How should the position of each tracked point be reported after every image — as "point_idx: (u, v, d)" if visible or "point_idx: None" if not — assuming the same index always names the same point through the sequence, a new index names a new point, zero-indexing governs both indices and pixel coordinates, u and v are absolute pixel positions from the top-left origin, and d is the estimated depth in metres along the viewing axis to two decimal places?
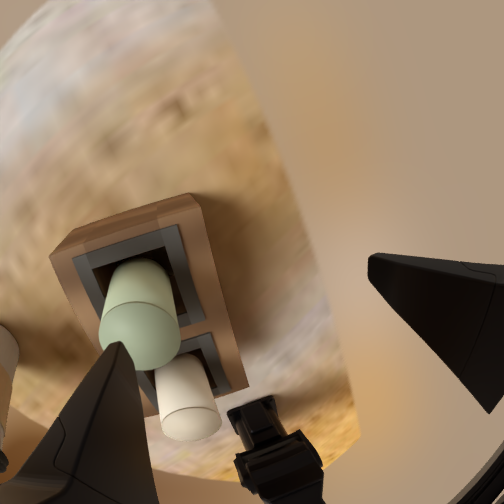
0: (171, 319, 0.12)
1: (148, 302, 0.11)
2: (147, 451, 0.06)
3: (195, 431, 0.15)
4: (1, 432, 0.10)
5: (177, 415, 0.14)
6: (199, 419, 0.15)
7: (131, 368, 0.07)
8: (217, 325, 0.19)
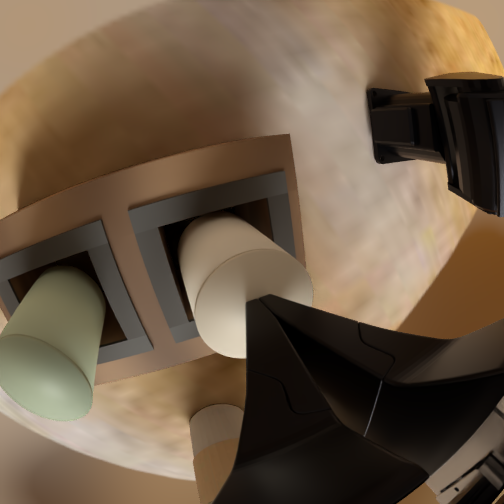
0: None
1: None
2: None
3: None
4: None
5: (211, 336, 0.08)
6: (236, 298, 0.08)
7: None
8: (116, 197, 0.10)
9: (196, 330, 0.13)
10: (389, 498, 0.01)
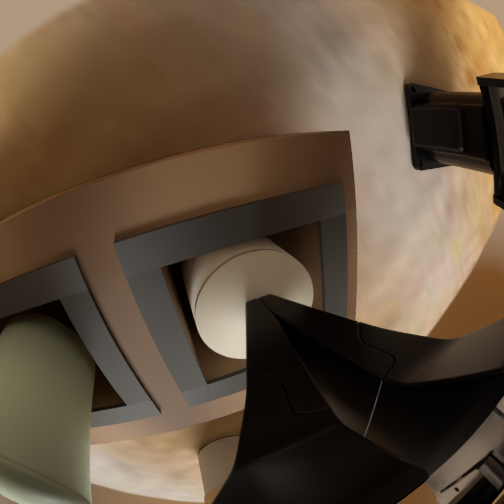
0: None
1: None
2: None
3: None
4: None
5: (211, 336, 0.08)
6: (236, 298, 0.08)
7: None
8: (95, 222, 0.06)
9: (216, 392, 0.09)
10: (389, 498, 0.01)
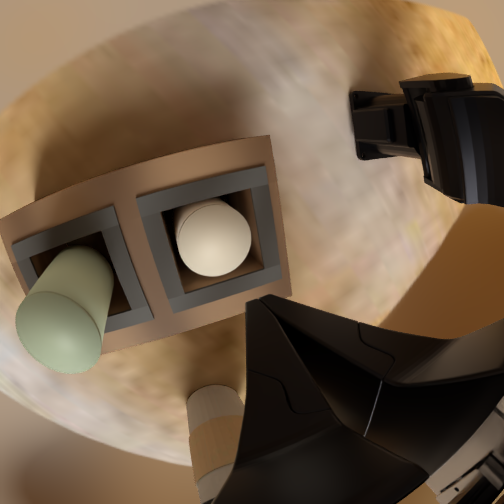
0: (23, 302, 0.07)
1: (17, 320, 0.08)
2: None
3: (227, 238, 0.15)
4: None
5: (187, 257, 0.14)
6: (201, 232, 0.14)
7: None
8: (126, 187, 0.12)
9: (191, 302, 0.15)
10: (389, 498, 0.01)
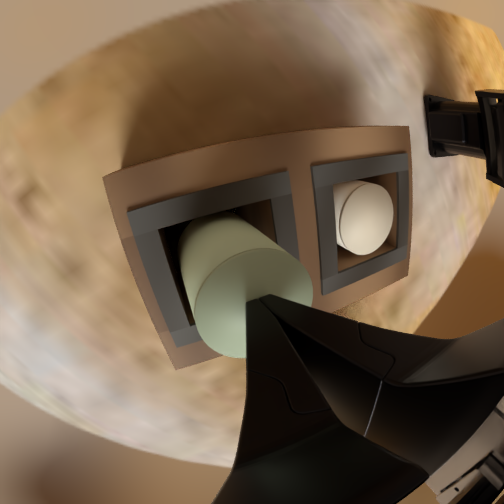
0: (227, 264, 0.08)
1: (197, 292, 0.08)
2: None
3: (378, 217, 0.14)
4: None
5: (346, 234, 0.14)
6: (361, 209, 0.14)
7: None
8: (301, 153, 0.11)
9: (341, 282, 0.15)
10: (388, 498, 0.01)
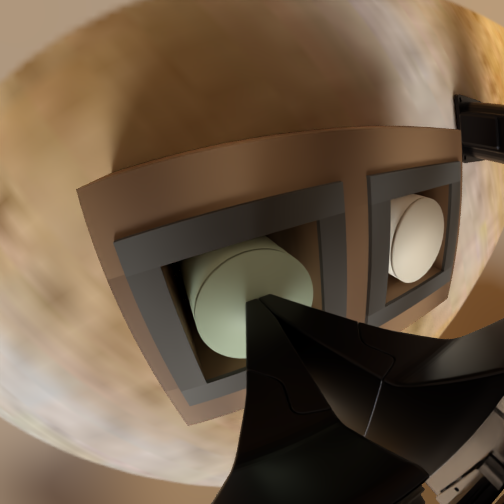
0: (227, 264, 0.08)
1: (197, 293, 0.08)
2: None
3: (430, 237, 0.11)
4: None
5: (398, 260, 0.10)
6: (415, 230, 0.10)
7: None
8: (357, 158, 0.08)
9: (386, 316, 0.11)
10: (389, 498, 0.01)
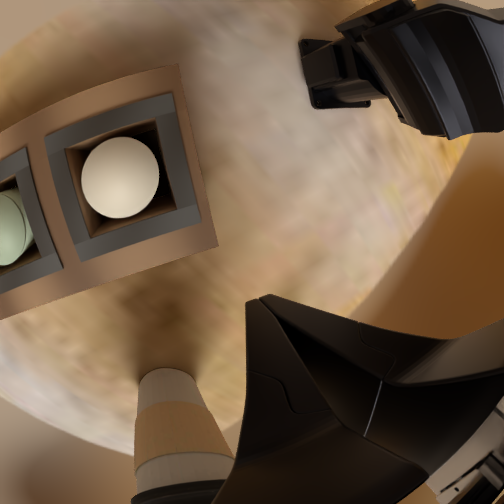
0: None
1: None
2: None
3: (132, 173, 0.12)
4: (200, 458, 0.14)
5: (91, 196, 0.12)
6: (104, 167, 0.11)
7: None
8: (37, 129, 0.09)
9: (97, 249, 0.12)
10: (389, 498, 0.01)
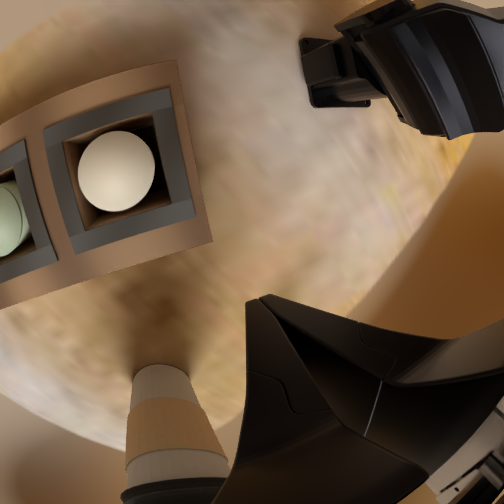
0: None
1: None
2: None
3: (128, 166, 0.12)
4: (190, 455, 0.14)
5: (87, 189, 0.12)
6: (100, 161, 0.11)
7: None
8: (36, 122, 0.09)
9: (92, 241, 0.12)
10: (389, 498, 0.01)
